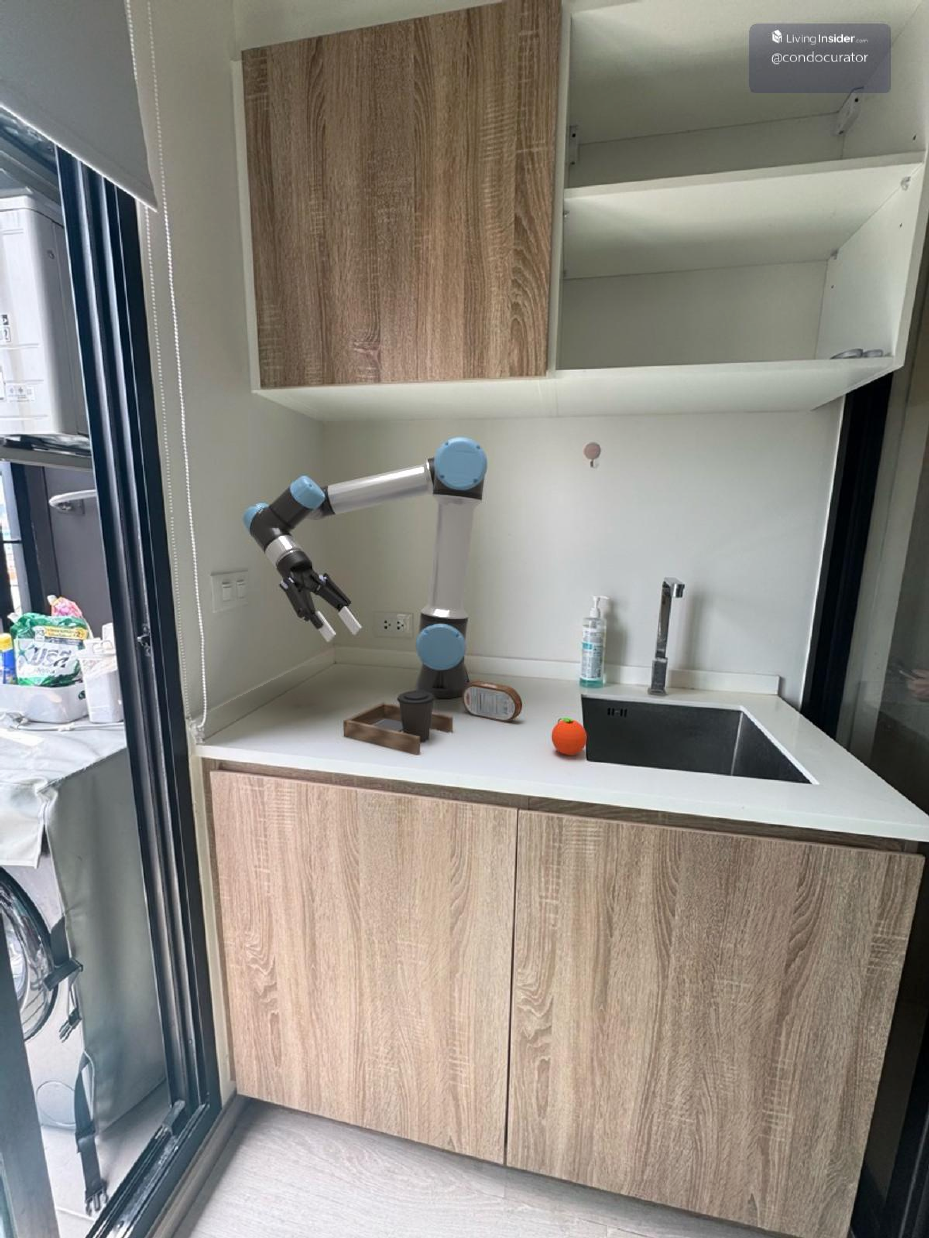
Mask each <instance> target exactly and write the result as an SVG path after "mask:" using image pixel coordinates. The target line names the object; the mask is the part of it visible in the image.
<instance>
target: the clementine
mask: <svg viewBox="0 0 929 1238" xmlns="http://www.w3.org/2000/svg"><path fill="white" fill-rule="evenodd" d="M585 729H586V728H584V726H583V725H582V724H581V723H580V722H578V721H577V720H575V719H571V718H569V717H564V718H563V717H562V718H558V721H557V723H556V724H555V726H554V727H553V729H552V731H551V742H552V744H553V747H554V748H555V749H556V750H557V751H558V752H560V753H561V754H563V755H567V756H572V755H576V754H579V753H580V752H581V751H583V749H585V746H586V744H587V740H588V738H587V737H588V735H587V732H586V730H585Z"/></svg>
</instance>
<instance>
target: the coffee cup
mask: <svg viewBox="0 0 929 1238" xmlns="http://www.w3.org/2000/svg"><path fill="white" fill-rule="evenodd" d="M435 700H436V698H435V697H434V695H433V694H431V693H429V692H426V691H423V690H422V691H416V690H409V691H406V692H403V693H400V694H399V695H398V696H397V698H396V701H397V702H398V705H399V706H400V713H401V720H402V728H403V730H402V732H403V733H407V734H411V735H416V736H420V744H421V743H424V742H427V741H428V740H429V739H430V733H431V732H430V731H431V729H430V723H431V714H432V712H433V703H434V701H435ZM426 740H427V741H426Z"/></svg>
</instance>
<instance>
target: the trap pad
mask: <svg viewBox="0 0 929 1238" xmlns="http://www.w3.org/2000/svg"><path fill="white" fill-rule="evenodd" d="M372 725H373V726H377V727H381V728H386V729H390V730H394V731H398V732H403V728H402V722H400V721H395V720H391V719H385V718H384V719H382V720H380V721H378V722H376V723H374V724H372Z"/></svg>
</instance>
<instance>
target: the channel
mask: <svg viewBox="0 0 929 1238" xmlns="http://www.w3.org/2000/svg"><path fill="white" fill-rule="evenodd" d="M385 719H391V720H395V721H400V722H402V720H401V713H400V705H399V704H394V703H390V702H389V703H388V702H384V701H383V702H381V703H379V704H377V705H375V706H373V707H370V708H368V709H366V710H364V711H362V712H360V713H358V714H355V715H353V716H351V717H349V718H346V719H343V722H342V723H343V725H342V726H343V730H342V731H343V737H344V736H346V737H345V738H348V737H349V739H354V740H356V739H357V741H361V742H366V743H369V744H373V745H375V746H376V745H377V746H381V747H386V748H389V749H392V750H396V751H401V752H403V753H407V754H408V753H409V754H412V755H416V756H418V755H420V754H421V743H420V736H416V735H411V734H407V733H403V731H400V732H398V731H394V730H390V729H386V728H381V727H377V726H373V725H375V724H377V723H379V722H381V721H383V720H385ZM453 720H454V717H453V715H447V714H443V713H442V714H441V713H439V712H434V711H432V714H431V723H430V730H435V729H436V730H435V731H439V730H440V732H444V733H448V732H451V733H453V729H454V727H453V726H454V724H453ZM419 753H420V754H419Z"/></svg>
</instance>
